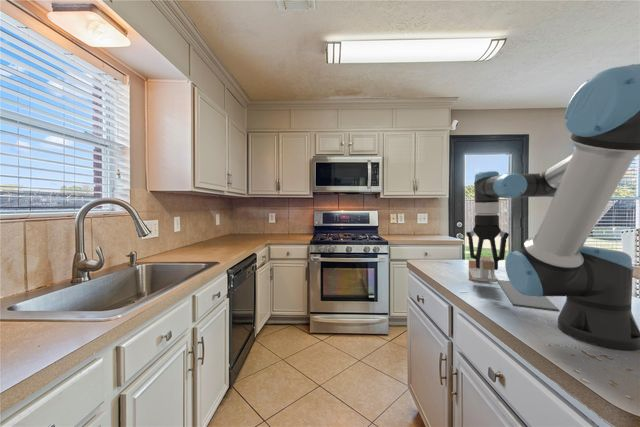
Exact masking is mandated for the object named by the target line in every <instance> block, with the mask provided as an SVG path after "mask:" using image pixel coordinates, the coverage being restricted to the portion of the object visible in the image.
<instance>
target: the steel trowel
mask: <svg viewBox="0 0 640 427" xmlns="http://www.w3.org/2000/svg"><path fill="white" fill-rule="evenodd" d="M480 259H481V260H482V278H480V277H479V269H478V268H469V267H468V271H469V270H470V273H471V275H472V278H473V280H472V281H475V280H480V281H479V282H486V281H490V282H494V283H498V280H499V278H498V277H497V276H496V274H495V273H494V279H492V278H491V270H493V261H492V260H493V258H491V257H490V256H483V255H481V257H480Z"/></svg>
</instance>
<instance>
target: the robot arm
mask: <svg viewBox="0 0 640 427" xmlns="http://www.w3.org/2000/svg"><path fill="white" fill-rule="evenodd" d="M564 119H565V120H566V121H565V122H564V124H565V126H566V127H565V128H566V129H567V130H568V131H569V132H570V133H571V135H570V138H569V141H570V142H571V144H572V145H573V146H574V147H575V148H574V151H573V153H572V154H571V155H569V156H568V157H566V158H564V159H563V160H560V161H559V162H558V163H555V165H553V166H551V167H549V168H548V169H546V170H544V171H542V172H540V173H537V172H536V173H517V172H515V173H514V172H511V173H509V172H508V173H504V174H500V173H499V171H496V170H495V171H493V170H490V171H482V172H481V171H480V172H476V173H475V174H474V182H473V185H474V186H473V188H474V214H475V215H474V227H473V228H472V229H471V230H469V231H466V232H465V233H466V236H467V238H468V247H469V256H470V258H471V259H473V260H476V268H478V269H479V277H480V278H482V260H481V259H480V257H481V256H482V250H483V245H484V241H486V240H488V241H489V243H490V248H491V253H492V261H493V270H491V278H492V279H494V274H495V271H498V269H499V261H503V260H505V266H504V268H505V272H506V275H507V278H508V281H510V282H511V284H512V286H513V287H514V288H515V289H516V290H517V291H518V292H520V293H521V294H523V295H527V296H537V297H541V296H545V297H566V300H565V302H564V304H563V306H562V308H561V310H560V313H559V315H558V317H557V327H558V329H559V330H560V331H562V332H563V333H565V334H566V335H567V336H570V337H572V338H575V339H576V340H580V341H582V342H585V343H589V344H592V345H594V346H595V345H596V346H599V347H604V348H609V349H615V350H623V351H635V350H639V349H640V328H639V326H638V324H637V322H636V318H635V317H634V316H633V311H632V300H633V297H632V296H633V274H634V273H633V272H634V268H633V262H632V261H633V260H632V257H631V256H630V255H629V254H628V253H627V252H624V251H620V250H616V249H615V250H614V249H608V248H602V247H594V246H586V245H585V243H586V241H587V239H588V238H589V236H590V235H591V233H592V231H593V230H594V228H595V226H596V224H597V223H598V221H599V219H600V218H601V216H602V214H603V213H604V211H605V209H606V207H607V206H608V204H609V202H610V201H611V198H612V197H613V195H614V193H615V191H616V190H617V188H618V187H619V184H620V183H621V181H622V180H623V178H624V176H625V175H626V173H627V171H628V169H629V168H630V167H631V164H633V163H632V162H633V161H634V159H635V157H637V156H639V155H640V63H637V64H634V63H633V64H628V65H623V66H621V65H620V66H616V67H611V68H608V69H605V70H602V71H600V72H598V73H597V74H595V75H593V76H592V77H591V78H590V79H588V80H586V81H585V82H584V83H583V84H581V86H580V87H579V88H577V90H576V91H575V92H574V94H573V95H572V97H571V98H570V99H569V101H568V103H567V107H566V109H565V112H564ZM533 197H534V198H535V197H536V198H539V197H543V198H545V197H547V198H552V200H551V201H550V203H549V206H548V208H547V211H546V213H545V215H544V216H543V219H542V220H541V224H540V226H539V228H538V230H537V233H536V236H534V237H529V238H528V239H525V242H524V243H523V245H522V248H521V250H520V251H518V250H514V251H512V252H509V253H508V254H507V256H506V258H505V255H506V246H507V239H508V237H509V236H510V234H509V232H505V231H503V230H502V229H501V228H500V216H499V213H500V199H501V198H503V199H509V198H511V199H512V198H533ZM474 234H475V235H476V236H477V238H478V240H477V241H478V242H477V248H476V253H475V250H474V240H473V237H474ZM498 235H499V237H500V245H499V254H498V251H497V247H496V246H497V245H496V240H495V239H496V238H497V237H498Z"/></svg>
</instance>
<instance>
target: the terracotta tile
mask: <svg viewBox="0 0 640 427" xmlns="http://www.w3.org/2000/svg"><path fill="white" fill-rule="evenodd" d="M469 268H476V259H468V280H469V281H477V282H481V281H480V280H473V278H472V275H471V273H470V270H469ZM485 282H487V283H489V282H491V281H485Z"/></svg>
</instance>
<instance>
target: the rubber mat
mask: <svg viewBox="0 0 640 427" xmlns="http://www.w3.org/2000/svg"><path fill="white" fill-rule="evenodd" d="M497 283H498V285H499V286H500V288H501V290H502V291H503V293H504V294H505V296H506V297H507V298H508V300H509V302H510V303H511V305H512V306H514V307H521V308H528V309H529V308H531V309H537V310H546V311H547V310H548V311H554V312H556V311H557V312H559V311H560V309H559V308H558V307H557V306H556V305H555V304H554V303H553V302H552V301H551V300H550V299H549V298H548V297H547V296H541V297H537V296H527V295H523V294H521V293H520V292H518V291H517V290H516V289H515V288H514V287H513V286H512V284H511V282H510V281H509V280H505V279H504V280H501V279H498V282H497Z"/></svg>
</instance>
